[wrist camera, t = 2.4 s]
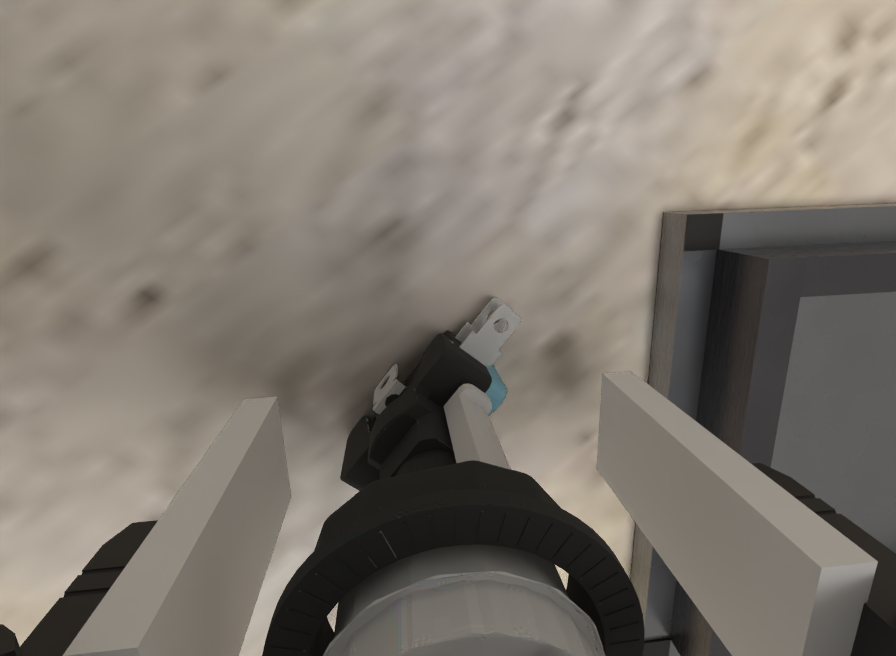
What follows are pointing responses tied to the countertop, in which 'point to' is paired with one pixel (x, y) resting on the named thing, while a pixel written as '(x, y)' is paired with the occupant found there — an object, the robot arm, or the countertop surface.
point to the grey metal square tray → (777, 368)
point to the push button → (452, 533)
